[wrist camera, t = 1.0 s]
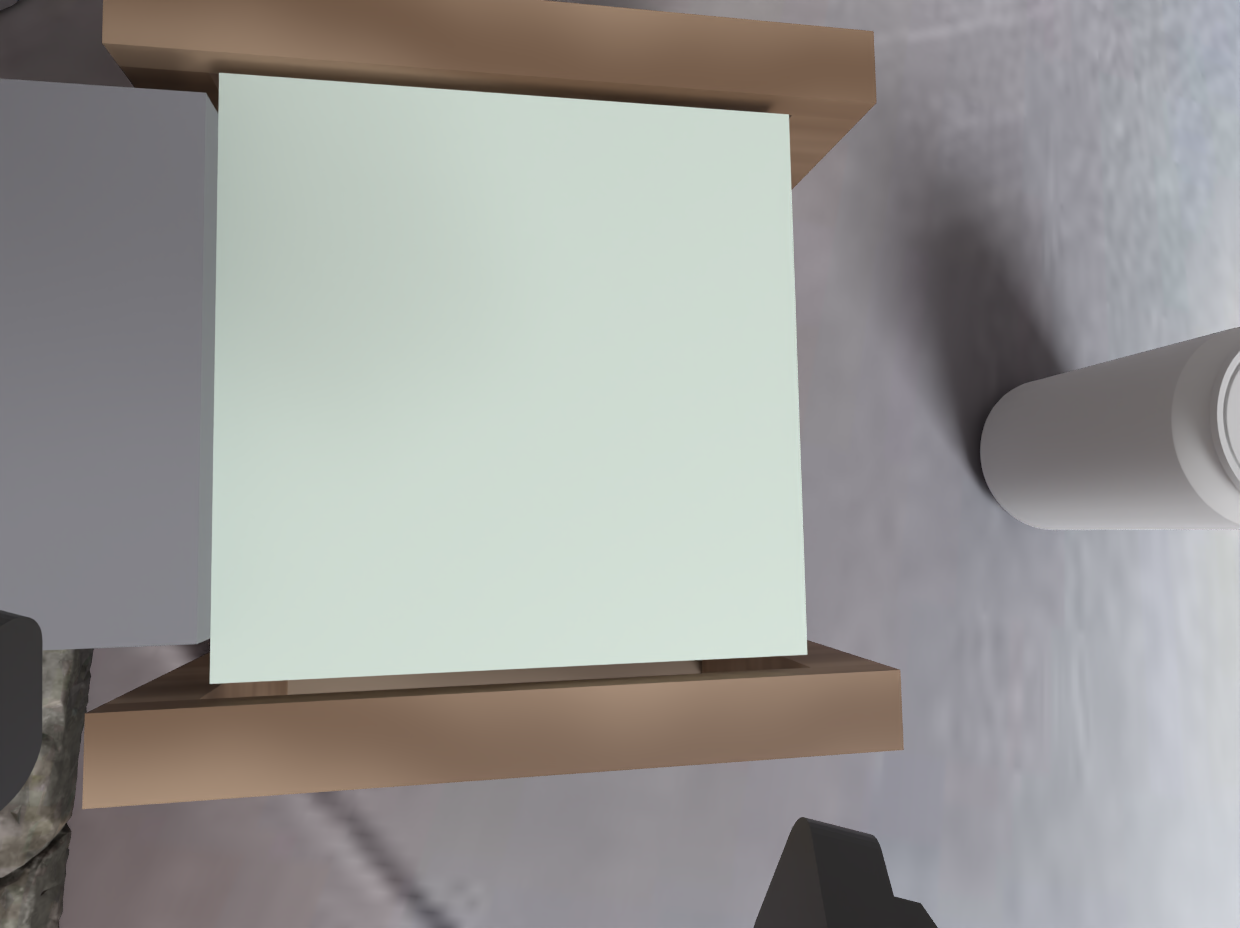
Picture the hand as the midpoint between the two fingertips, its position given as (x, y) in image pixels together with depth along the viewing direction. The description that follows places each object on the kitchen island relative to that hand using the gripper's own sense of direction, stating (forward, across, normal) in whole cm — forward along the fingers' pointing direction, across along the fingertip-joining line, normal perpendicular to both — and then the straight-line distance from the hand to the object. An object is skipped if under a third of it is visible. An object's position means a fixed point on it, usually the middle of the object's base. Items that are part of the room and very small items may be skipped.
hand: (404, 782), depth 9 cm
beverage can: (+30, -19, +2) cm, 35 cm away
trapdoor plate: (+16, +5, +1) cm, 16 cm away
